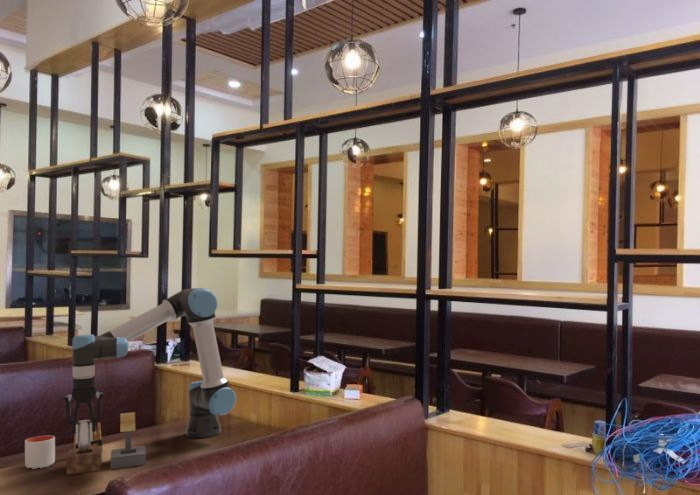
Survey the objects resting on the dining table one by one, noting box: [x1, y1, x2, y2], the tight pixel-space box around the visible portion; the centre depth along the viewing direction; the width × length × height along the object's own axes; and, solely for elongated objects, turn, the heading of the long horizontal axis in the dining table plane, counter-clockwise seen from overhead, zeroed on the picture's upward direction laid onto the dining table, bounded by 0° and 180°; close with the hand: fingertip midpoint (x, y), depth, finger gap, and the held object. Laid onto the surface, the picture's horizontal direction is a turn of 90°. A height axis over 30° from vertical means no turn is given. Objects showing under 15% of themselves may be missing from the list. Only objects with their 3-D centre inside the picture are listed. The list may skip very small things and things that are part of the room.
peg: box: [77, 419, 91, 454], centre depth 222 cm, size 4×4×14 cm
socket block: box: [110, 431, 147, 470], centre depth 227 cm, size 12×12×14 cm
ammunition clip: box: [73, 421, 103, 449], centre depth 239 cm, size 11×2×12 cm, turn 135°
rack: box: [66, 445, 103, 475], centre depth 221 cm, size 11×11×6 cm
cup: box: [24, 434, 56, 470], centre depth 226 cm, size 10×10×10 cm
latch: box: [119, 411, 136, 433], centre depth 219 cm, size 5×10×4 cm, turn 20°
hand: (84, 441), depth 222 cm, fingers closed on peg, 4 cm apart
